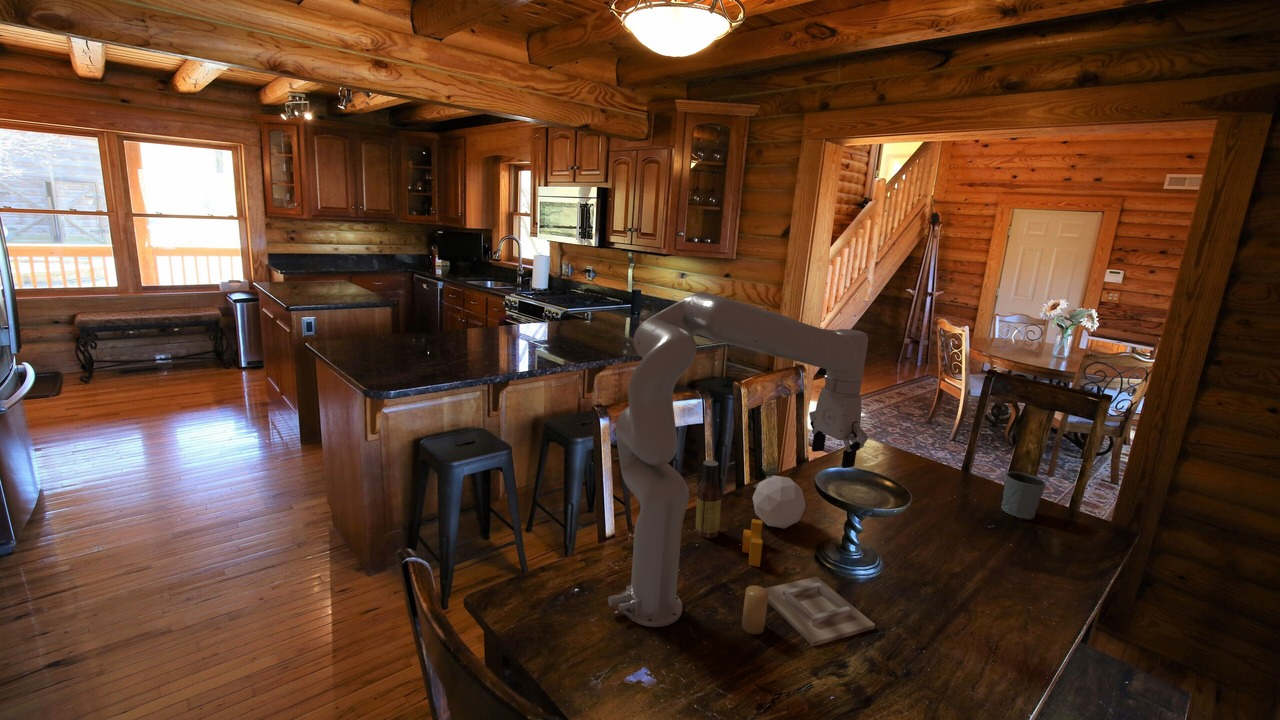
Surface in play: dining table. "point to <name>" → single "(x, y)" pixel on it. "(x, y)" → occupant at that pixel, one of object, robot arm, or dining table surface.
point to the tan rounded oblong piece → (755, 609)
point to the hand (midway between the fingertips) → (832, 458)
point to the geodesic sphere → (778, 501)
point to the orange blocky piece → (753, 542)
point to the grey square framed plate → (817, 611)
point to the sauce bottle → (708, 501)
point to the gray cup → (1022, 494)
